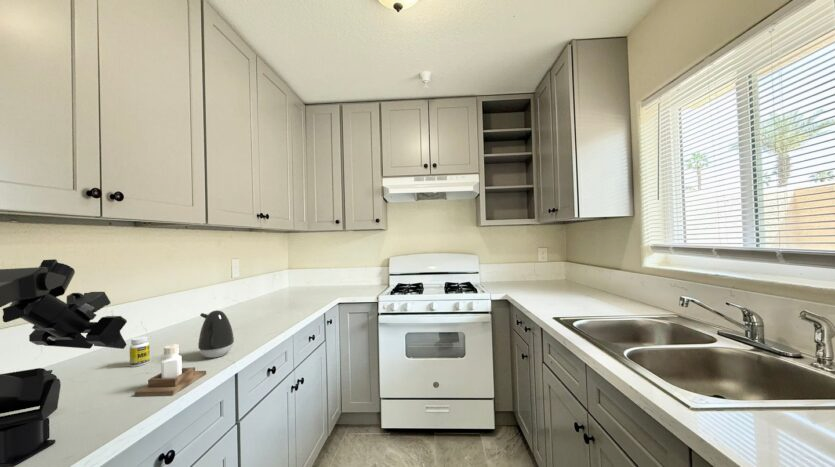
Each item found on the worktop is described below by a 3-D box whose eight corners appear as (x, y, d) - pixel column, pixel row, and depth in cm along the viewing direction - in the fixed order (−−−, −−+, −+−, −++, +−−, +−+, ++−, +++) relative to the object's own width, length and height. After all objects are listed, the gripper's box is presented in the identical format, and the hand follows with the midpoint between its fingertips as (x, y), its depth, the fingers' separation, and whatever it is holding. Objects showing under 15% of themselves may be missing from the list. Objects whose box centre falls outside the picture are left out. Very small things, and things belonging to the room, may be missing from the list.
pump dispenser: (212, 349, 111) (211, 307, 111) (240, 349, 111) (239, 306, 111) (190, 361, 101) (189, 314, 101) (221, 360, 100) (220, 314, 100)
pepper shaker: (180, 381, 84) (179, 346, 84) (161, 385, 82) (160, 349, 82) (182, 376, 87) (181, 342, 87) (164, 380, 85) (163, 345, 85)
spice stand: (173, 395, 79) (173, 383, 79) (134, 396, 79) (134, 384, 79) (206, 374, 91) (206, 363, 91) (172, 374, 91) (172, 364, 91)
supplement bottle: (137, 367, 97) (137, 340, 97) (125, 366, 98) (125, 340, 98) (153, 361, 102) (152, 335, 102) (142, 360, 103) (141, 335, 103)
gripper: (117, 281, 70) (163, 317, 81) (45, 282, 72) (99, 317, 83) (76, 326, 62) (133, 359, 73) (-4, 326, 64) (63, 358, 75)
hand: (107, 346), depth 76 cm, fingers open, 9 cm apart
